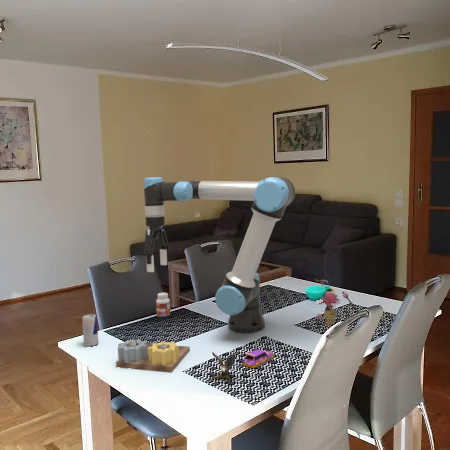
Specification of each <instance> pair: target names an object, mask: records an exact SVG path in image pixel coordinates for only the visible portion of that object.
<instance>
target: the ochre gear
mask: <svg viewBox="0 0 450 450" xmlns="http://www.w3.org/2000/svg"><path fill="white" fill-rule="evenodd" d="M151 344H152V347H148V352H149V361H152V364H153V365H155V364H162V366H163V365H166V364H168V363H175V362H176V359H179V348H178V346H179V344H176V342H175V341H171V342H169V341H167V342H166V341H165V340H163V341H161V342H159V343H158V342H157V343H155V342H153V343H151ZM161 344H167V349H160V345H161Z"/></svg>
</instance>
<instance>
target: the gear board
mask: <svg viewBox="0 0 450 450" xmlns="http://www.w3.org/2000/svg"><path fill="white" fill-rule="evenodd" d="M152 344H153V343H147V352H148V347H152ZM135 346H136V342H130V343H129V347H135ZM178 348H179V359H176V362H175V363H168V364H166V365H163V366H162V364H155V365H153V364H152V361H149V352H148V354H147V358H146V359H141V360H140V362H136V361H134V362H129V363H125V361H123V360H121V361H119V360H117V361H116V362H115V366H116V367H115V368H117V367H120V368H119V369H128V368H131V369H130V370H139V371H140V370H141V371H149V372H150V371H151V372H159V373H160V372H161V373H173V371H174V370H175V369H177V367H178V366H179V365H180V363H181V362H182V361H183V360H184V358H186V356H187V355H188V353H190V350H191V349H190V346H188V345H187V346H186V345H185V346H184V345H178ZM160 349H167V344H161V345H160Z"/></svg>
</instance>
